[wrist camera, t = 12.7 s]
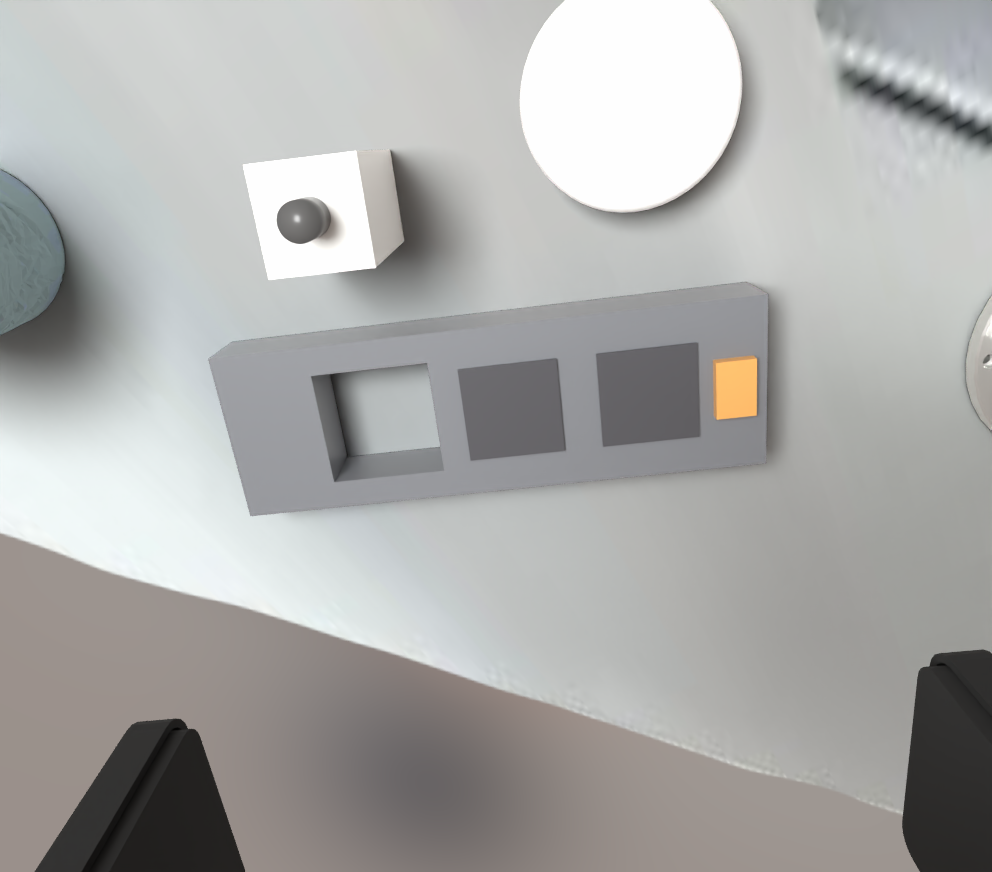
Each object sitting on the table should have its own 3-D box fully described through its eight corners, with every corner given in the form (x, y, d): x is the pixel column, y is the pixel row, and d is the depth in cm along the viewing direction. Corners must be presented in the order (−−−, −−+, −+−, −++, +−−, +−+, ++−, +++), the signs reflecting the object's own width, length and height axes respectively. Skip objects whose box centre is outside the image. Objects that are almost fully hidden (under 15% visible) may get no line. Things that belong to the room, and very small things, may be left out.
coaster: (577, 243, 39) (583, 252, 36) (482, 58, 36) (480, 50, 33) (756, 142, 37) (780, 142, 34) (672, -62, 34) (690, -84, 31)
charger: (390, 149, 37) (345, 151, 27) (404, 241, 39) (367, 275, 29) (302, 160, 37) (224, 166, 27) (319, 250, 39) (252, 288, 29)
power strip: (746, 281, 39) (772, 296, 35) (746, 438, 42) (769, 468, 39) (231, 341, 41) (203, 361, 37) (269, 488, 44) (246, 521, 40)
